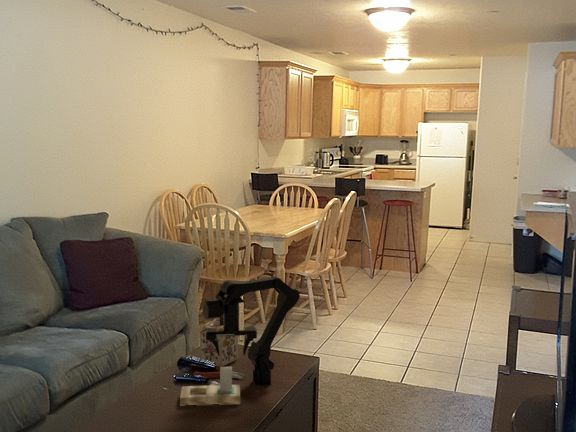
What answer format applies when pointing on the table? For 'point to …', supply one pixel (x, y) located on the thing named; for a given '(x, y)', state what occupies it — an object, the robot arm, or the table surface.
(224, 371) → the steel block
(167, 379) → the table surface
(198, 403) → the beige slotted block
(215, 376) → the pliers
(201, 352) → the decorative jar
